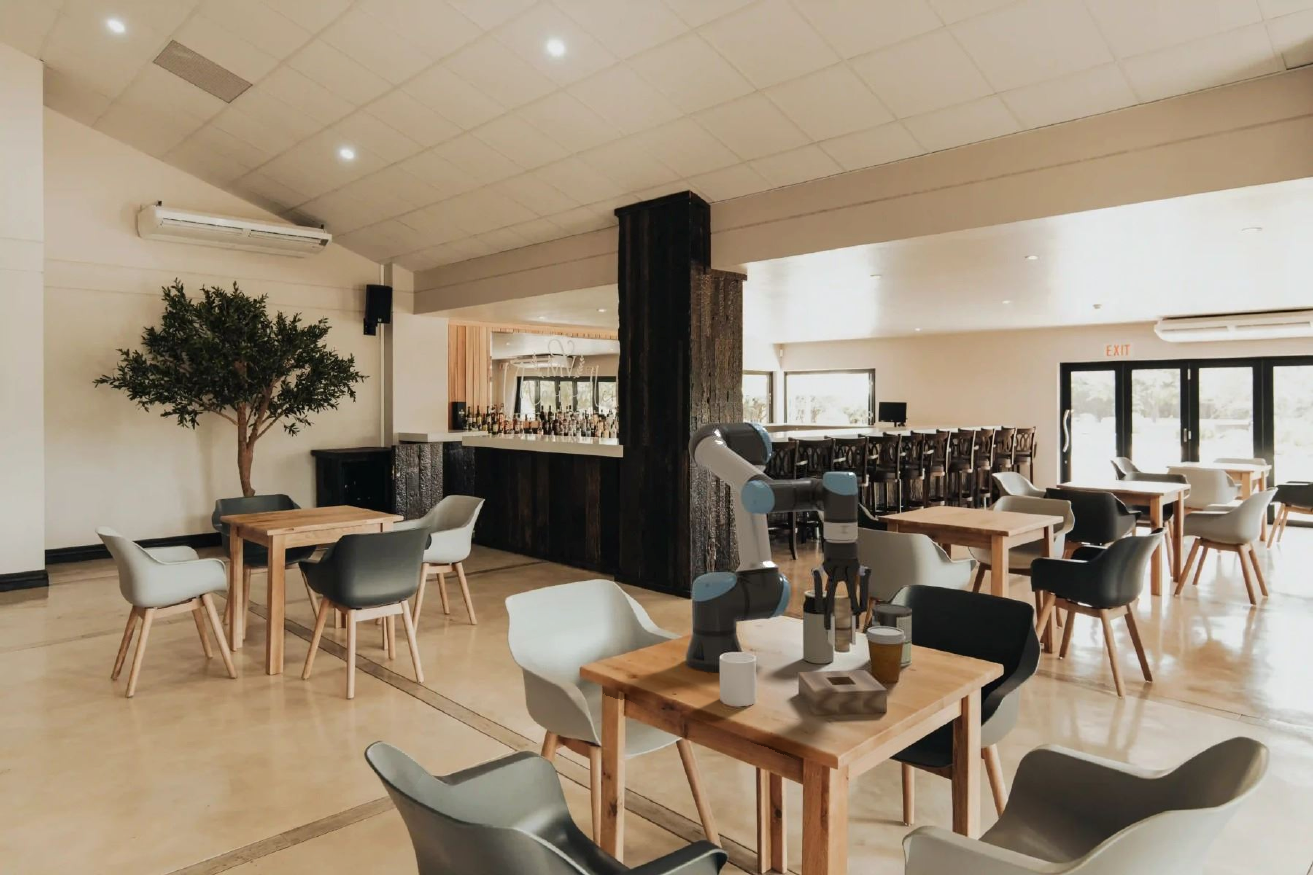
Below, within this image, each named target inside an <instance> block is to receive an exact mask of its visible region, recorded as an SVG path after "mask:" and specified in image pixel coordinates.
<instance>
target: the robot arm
mask: <svg viewBox="0 0 1313 875" xmlns="http://www.w3.org/2000/svg"><path fill="white" fill-rule="evenodd" d="M688 451H689V456H690V458H691V460H692V461H693V462H694V464H696V465H697V466H698V467H699V468H701V469H702V470H705V471H710V472H712V474H714V475H715V476H717V478H718V479H720V480H722V481H723V482H724V483H725V484H727V485H728V486H729V487H730V488H731V496H732V503H733V511H734V512H733V514H734V520H735V529H736V538H737V546H738V554H739V556H738V557H739V563H740V564H739V566H738V567H737V568H736V570H735V573H733V572H731V571H730V572H729V571H721V572H719V571H715V572H710V573H709V572H708V573H705V574H703V575H700V576H698V577H697V578H695V580H694V581H693V583H692V588H691V589H692V590H691V591H692V592H691V604H692V605H691V609H692V610H691V612H692V613H691V614H692V617H691V618H692V620H691V621H692V622H691V623H692V633H691V634H692V635H691V638H690V641H689V643H688V648H687V650H686V654H685V663H686V665H687V667H689V666H691V667H692V668H691V667H690V668H691V669H694V670H697V669H698V670H697V671H702V672H703V671H704V672H711V673H712V672H715V673H716V672H717V673H718V672H719V673H720V656H721V655H722V654H725V653H730V652H743V651H742V648H741V643H740V641H739V638H738V635H737V627H738V626H737V625H738V624H737V622H746V621H747V622H748V621H755V620H756V621H757V620H770V619H771V618H778V617H780V616H781V615H783V614H784V613H785V612H786V610H787V608H789V607H788V606H789V603H790V598H791V588H790V583H789V581H788V578H787V576H786V575H785V574H783V573H781V572H779V566H778V565H777V564H776V563H775V562H773V559H772V552H771V545H770V543H771V542H770V537H769V536H770V535H769V529H768V519H767V514H775V513H776V514H777V513H789V512H790V513H791V512H792V513H793V512H808V511H809V512H810V511H811V512H812V511H814V512H815V511H818V512H822V513H823V538H824V539H825V540H824V542H823V562H822V564H821V566H818V567H817V568H815V567H813V568H811V569H810V572H811V575H812V577H813V585H814V589H813V590H815V609H816V611H817V612H819V613H820V614H823V615H824V628H825V629H826V630H828V643H829V644H831V645H832V646H834V645H835V616H833V615H832V614H831V613H832V608H833V603H834V598H835V596H836V591H837V587H838V585H839V583H840V582H844V584H845V587H846V592H847V596H848V597H850V598H851V638H850V645H852V646H854V645H857V642H856V640H857V638H856V637H857V636H856V630H859V629H860V617H861V615H862V614H863V613H867V612H868V610H869V579H870V576H871V574H872V569H871V568H869V567H867V566H862V565H861V563H860V562H859V543H858V541H856V540H857V539H859V536H858V535H859V534H858V530H859V529H858V523H859V522H858V506H859V504H858V501H859V500H858V497H859V495H858V493H859V489H858V481H857V480H858V479H857V478H858V477H857V475H856V474H855V473H854V472H851V471H826V472H824V474H823V475H822V478H815V477H803V478H799V479H773V478H771V477H769V476H768V475H767V474H766V473H764V471H765V470H766V468H767V467H766V463H768V462H769V461H770V460H771V456H772V454H771V453H772V452H773V446H772V441H771V436H770V435H769V432H768V430H767V429H766V428H765V427H764V426H763V425H762V424H759V423H757V422H746V421H744V422H724V423H723V422H711V423H707V424H704V425H702V426H700V427H699V428H697V429H696V430H695V431H694V432H693V433H692V434H691V436H690V439H689V443H688ZM824 573H825V574H826V575H827V577H828V580H827V587H826V588H827V589H826V591H827V593H826V598H825V604H824V608H823V591H824V590H823V589H824V588H823V576H824ZM857 573H858V575H859V589H858V590H859V593H858V594H859V596H857V593H856V586H855V580H854V577H855V576H856V575H857ZM858 599H859V600H858Z"/></svg>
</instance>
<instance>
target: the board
mask: <svg viewBox="0 0 1313 875" xmlns="http://www.w3.org/2000/svg"><path fill="white" fill-rule="evenodd" d="M797 675H798V676H797V677H798V695H799V696H800V698H801V699H802V700H803V701H804V703H805V704H806V705H807V706H808V708H809V709H810V710H811V712H812V713H813V715H815V716H833V715H834V716H835V715H858V714H859V715H862V714H882V713H883V712H887V713H888V696H887V695H888V693H887V692H888V690H887V689H886V687H884V686H883V685H882V684H881V682H878V681H876V680H875V679H874V678H873V677H872V674H870V673H869V672H868V671H867V670H866V669H856V670H854V669H853V670H831V671H830V670H828V671H823V670H822V671H801V672H798V674H797ZM881 712H882V713H881ZM883 714H884V713H883Z"/></svg>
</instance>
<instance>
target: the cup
mask: <svg viewBox="0 0 1313 875" xmlns="http://www.w3.org/2000/svg"><path fill="white" fill-rule="evenodd" d="M719 700H720V702H721V701H722V702H723V703H724V704H723V703H722V702H721V703H722V704H723V705H725V704H728V705H732V706H747V707H749V706H748V705H751V706H752V704H753V705H754V704H755V703H756V700H757V657H756V656H755V655H754V654H752V653H749V652H743V651H742V652H730V653H725V654H722V655H721V656H720V672H719Z"/></svg>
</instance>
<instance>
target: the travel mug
mask: <svg viewBox="0 0 1313 875" xmlns="http://www.w3.org/2000/svg"><path fill="white" fill-rule="evenodd" d="M826 593H827V590H823V608H824V604H825V598H826ZM803 595H804V598H805V600H804V602H803V604H802V643H803V644H802V646H803V647H802V650H803V651H802V653H803V654H802V658H803V660H804V661H806V662H807V661H808V662H807V663H811V664H816V665H819V664H820V665H823V664H824V665H825V664H829V663H831V662H833V661H834V658H835V657H834V655H835V653H834V652H835V651H834V646H832V645H831V644H829V643H828V630H826V629H825V628H824V615H823V614H820V613H819V612H817V611H816V609H815V590H814V589H812V590H806V591H804V593H803ZM831 614H832V615H833V608H832V613H831Z"/></svg>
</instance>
